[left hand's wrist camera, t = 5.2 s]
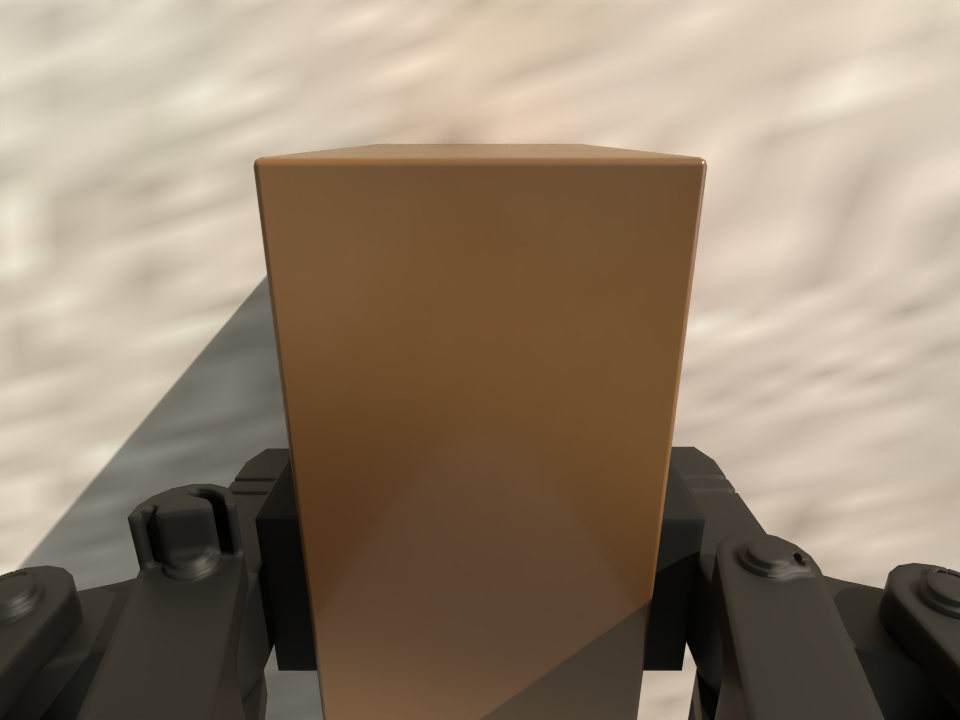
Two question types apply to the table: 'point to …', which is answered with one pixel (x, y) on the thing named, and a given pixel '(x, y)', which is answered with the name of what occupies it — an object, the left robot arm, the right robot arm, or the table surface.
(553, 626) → the beam
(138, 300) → the table surface
